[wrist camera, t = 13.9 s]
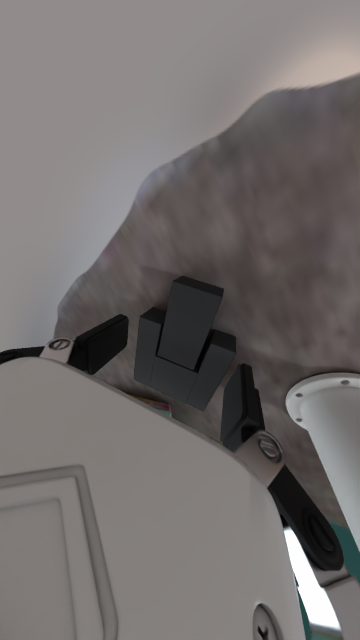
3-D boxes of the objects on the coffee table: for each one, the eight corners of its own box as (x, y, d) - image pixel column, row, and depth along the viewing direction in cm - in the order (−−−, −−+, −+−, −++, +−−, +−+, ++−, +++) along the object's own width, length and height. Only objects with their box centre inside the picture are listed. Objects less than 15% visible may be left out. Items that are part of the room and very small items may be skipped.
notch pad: (235, 336, 22) (236, 353, 18) (206, 392, 29) (203, 411, 25) (152, 307, 24) (139, 316, 21) (144, 365, 31) (133, 379, 27)
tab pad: (182, 275, 20) (172, 281, 17) (223, 288, 19) (222, 297, 16) (167, 341, 26) (157, 355, 23) (198, 354, 25) (193, 370, 22)
